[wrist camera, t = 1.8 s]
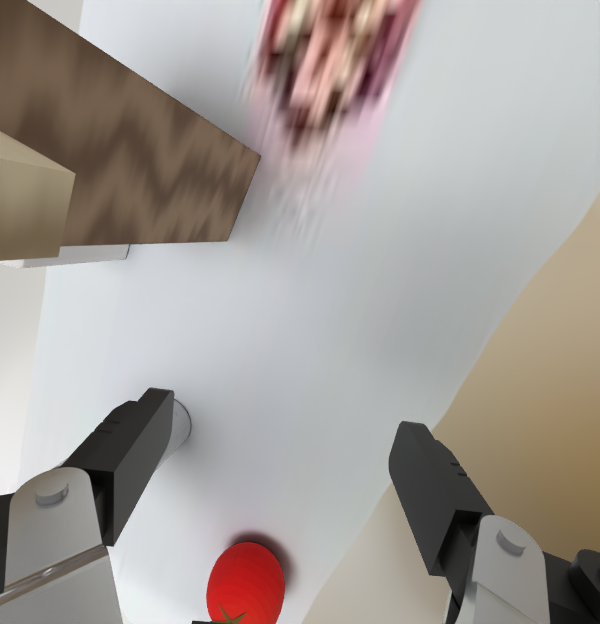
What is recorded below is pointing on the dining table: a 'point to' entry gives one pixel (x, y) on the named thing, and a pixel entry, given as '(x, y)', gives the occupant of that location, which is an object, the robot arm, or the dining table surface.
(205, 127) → the pedestal
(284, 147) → the dining table surface
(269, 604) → the tomato
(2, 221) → the wooden block
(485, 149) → the dining table surface
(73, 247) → the milk carton
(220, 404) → the dining table surface
